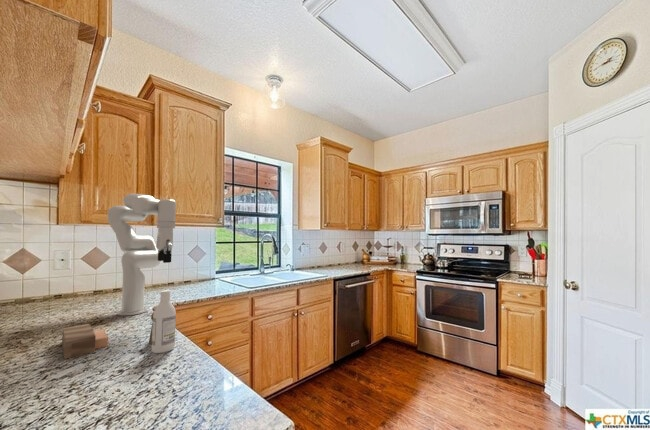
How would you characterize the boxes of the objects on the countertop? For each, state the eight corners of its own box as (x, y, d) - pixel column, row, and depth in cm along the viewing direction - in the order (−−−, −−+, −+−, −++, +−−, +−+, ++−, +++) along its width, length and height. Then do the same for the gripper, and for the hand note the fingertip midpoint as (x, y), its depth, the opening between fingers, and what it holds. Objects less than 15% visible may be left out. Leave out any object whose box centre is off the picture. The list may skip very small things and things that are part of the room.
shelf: (61, 343, 103) (62, 328, 103) (88, 337, 108) (89, 323, 108) (64, 358, 89) (65, 341, 90) (94, 351, 95) (95, 335, 95)
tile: (68, 345, 101) (68, 335, 102) (102, 338, 108) (103, 329, 109) (70, 355, 93) (70, 344, 93) (107, 347, 100) (108, 337, 100)
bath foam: (178, 345, 100) (180, 288, 102) (167, 353, 93) (170, 292, 95) (158, 345, 100) (161, 289, 101) (146, 353, 93) (149, 292, 94)
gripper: (152, 225, 136) (150, 260, 135) (161, 224, 123) (159, 263, 122) (169, 225, 141) (168, 259, 140) (180, 225, 129) (178, 262, 127)
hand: (164, 261), depth 131 cm, fingers open, 9 cm apart
